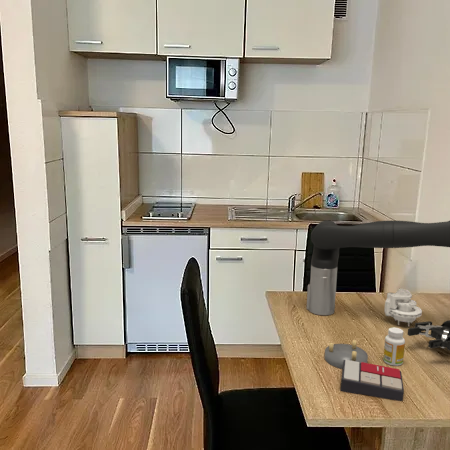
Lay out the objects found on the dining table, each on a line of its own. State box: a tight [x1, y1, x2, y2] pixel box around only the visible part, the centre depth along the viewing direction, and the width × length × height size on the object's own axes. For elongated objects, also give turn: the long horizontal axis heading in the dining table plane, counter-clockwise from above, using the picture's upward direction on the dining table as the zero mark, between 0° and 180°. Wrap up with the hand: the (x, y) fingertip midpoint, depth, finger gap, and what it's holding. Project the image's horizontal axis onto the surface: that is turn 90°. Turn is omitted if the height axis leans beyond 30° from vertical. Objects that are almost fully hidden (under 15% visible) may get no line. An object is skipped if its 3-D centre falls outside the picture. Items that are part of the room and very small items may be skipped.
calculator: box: [339, 360, 405, 402], centre depth 123 cm, size 11×4×15 cm
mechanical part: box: [383, 287, 423, 327], centre depth 162 cm, size 11×12×12 cm
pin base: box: [324, 339, 369, 370], centre depth 136 cm, size 12×12×4 cm
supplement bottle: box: [382, 327, 406, 367], centre depth 134 cm, size 5×5×10 cm
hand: (418, 338), depth 137 cm, fingers open, 8 cm apart
